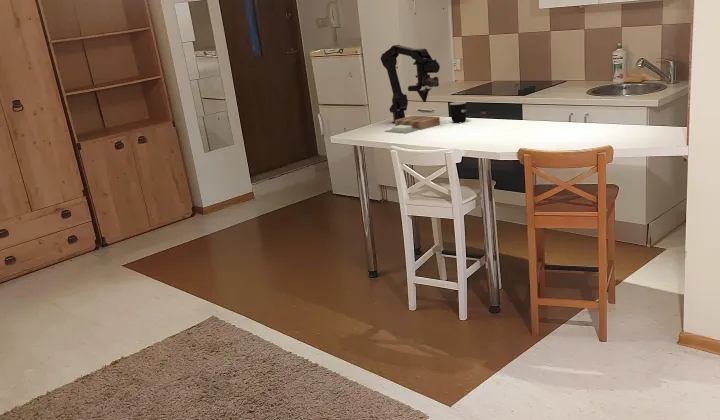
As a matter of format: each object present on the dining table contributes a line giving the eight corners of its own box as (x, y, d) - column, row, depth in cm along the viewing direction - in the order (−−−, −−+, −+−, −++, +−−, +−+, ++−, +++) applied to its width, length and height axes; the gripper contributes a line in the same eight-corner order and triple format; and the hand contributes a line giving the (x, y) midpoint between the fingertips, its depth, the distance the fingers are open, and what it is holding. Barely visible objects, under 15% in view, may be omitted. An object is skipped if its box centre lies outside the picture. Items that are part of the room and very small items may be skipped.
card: (399, 125, 353) (400, 128, 354) (391, 127, 350) (392, 130, 350) (412, 125, 347) (412, 129, 347) (404, 128, 343) (404, 131, 344)
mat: (384, 131, 352) (384, 131, 352) (399, 127, 359) (399, 127, 359) (405, 133, 340) (405, 132, 340) (420, 129, 347) (420, 128, 347)
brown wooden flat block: (395, 127, 361) (394, 120, 360) (413, 122, 370) (412, 115, 368) (422, 129, 346) (421, 121, 345) (439, 124, 355) (439, 117, 354)
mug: (462, 123, 351) (461, 104, 348) (447, 123, 356) (446, 104, 353) (473, 119, 360) (472, 100, 357) (458, 119, 365) (457, 100, 362)
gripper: (421, 75, 341) (423, 105, 346) (445, 70, 353) (447, 99, 357) (406, 75, 349) (408, 104, 354) (430, 70, 361) (432, 99, 365)
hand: (424, 102), depth 357 cm, fingers closed
